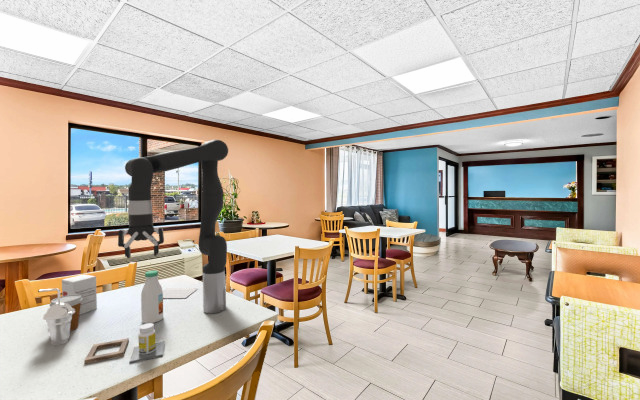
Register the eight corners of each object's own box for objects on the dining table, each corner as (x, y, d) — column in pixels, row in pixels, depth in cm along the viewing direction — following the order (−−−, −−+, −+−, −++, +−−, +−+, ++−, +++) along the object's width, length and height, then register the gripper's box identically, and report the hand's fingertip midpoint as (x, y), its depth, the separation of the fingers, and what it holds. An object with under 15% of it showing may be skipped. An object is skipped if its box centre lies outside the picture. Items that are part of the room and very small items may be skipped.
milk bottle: (153, 325, 115) (152, 275, 114) (137, 323, 116) (135, 273, 116) (167, 316, 122) (166, 269, 122) (151, 315, 124) (150, 268, 123)
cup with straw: (73, 343, 101) (71, 287, 100) (38, 351, 96) (36, 292, 95) (78, 333, 108) (76, 280, 107) (45, 340, 103) (43, 284, 102)
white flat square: (176, 307, 133) (175, 305, 133) (121, 307, 133) (121, 305, 133) (197, 289, 156) (197, 288, 156) (151, 289, 156) (151, 288, 156)
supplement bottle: (155, 345, 98) (155, 321, 98) (155, 352, 94) (155, 327, 94) (139, 349, 96) (138, 324, 96) (138, 356, 92) (137, 330, 91)
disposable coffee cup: (89, 325, 114) (88, 295, 114) (60, 337, 105) (59, 304, 105) (73, 322, 117) (72, 292, 117) (44, 333, 108) (43, 301, 108)
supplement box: (61, 313, 126) (60, 279, 125) (85, 305, 134) (84, 273, 134) (74, 316, 122) (73, 281, 122) (97, 308, 131) (96, 275, 130)
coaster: (164, 342, 101) (164, 341, 101) (162, 356, 93) (162, 354, 93) (134, 348, 97) (134, 347, 97) (129, 363, 89) (129, 361, 89)
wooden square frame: (128, 341, 102) (128, 338, 102) (123, 356, 93) (123, 352, 93) (93, 348, 98) (93, 344, 98) (84, 364, 89) (84, 360, 89)
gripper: (163, 211, 112) (165, 252, 113) (120, 212, 107) (122, 256, 108) (161, 212, 105) (162, 256, 106) (114, 214, 100) (116, 261, 101)
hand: (142, 256), depth 107 cm, fingers open, 8 cm apart
